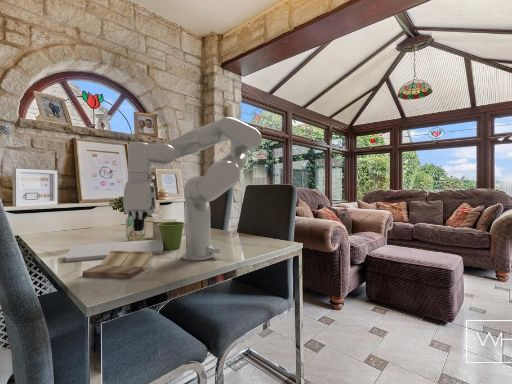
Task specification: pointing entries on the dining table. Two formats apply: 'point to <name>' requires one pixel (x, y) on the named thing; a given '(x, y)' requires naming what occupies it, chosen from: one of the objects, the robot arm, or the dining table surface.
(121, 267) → the floor row
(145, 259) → the plank
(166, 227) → the plant pot
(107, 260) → the plank
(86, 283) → the dining table surface
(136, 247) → the decorative molding
